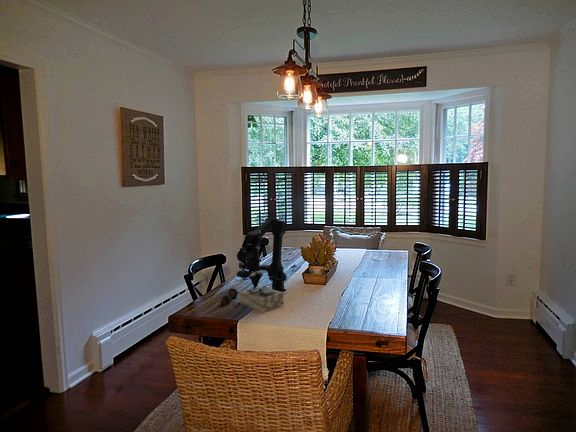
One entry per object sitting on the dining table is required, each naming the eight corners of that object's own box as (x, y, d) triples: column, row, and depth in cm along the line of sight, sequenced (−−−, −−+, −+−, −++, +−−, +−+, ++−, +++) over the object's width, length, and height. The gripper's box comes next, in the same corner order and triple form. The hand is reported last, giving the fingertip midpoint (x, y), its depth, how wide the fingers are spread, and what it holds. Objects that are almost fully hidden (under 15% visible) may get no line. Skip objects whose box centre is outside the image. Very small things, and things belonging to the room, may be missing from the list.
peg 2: (267, 295, 213) (266, 284, 212) (272, 297, 210) (272, 286, 209) (261, 297, 210) (260, 286, 209) (266, 299, 207) (266, 287, 206)
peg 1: (256, 296, 219) (255, 285, 219) (261, 298, 216) (260, 287, 216) (250, 298, 217) (249, 287, 216) (255, 300, 214) (254, 289, 213)
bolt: (222, 309, 213) (232, 299, 228) (230, 305, 212) (239, 295, 226) (216, 299, 213) (226, 290, 228) (224, 295, 212) (234, 286, 226)
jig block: (260, 297, 225) (260, 285, 224) (283, 303, 212) (283, 291, 211) (239, 303, 215) (239, 291, 214) (262, 311, 202) (262, 298, 202)
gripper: (257, 252, 226) (259, 281, 228) (229, 259, 213) (231, 288, 215) (271, 255, 218) (272, 284, 220) (243, 262, 205) (244, 292, 207)
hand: (255, 287), depth 216 cm, fingers closed, pressing on peg 1
